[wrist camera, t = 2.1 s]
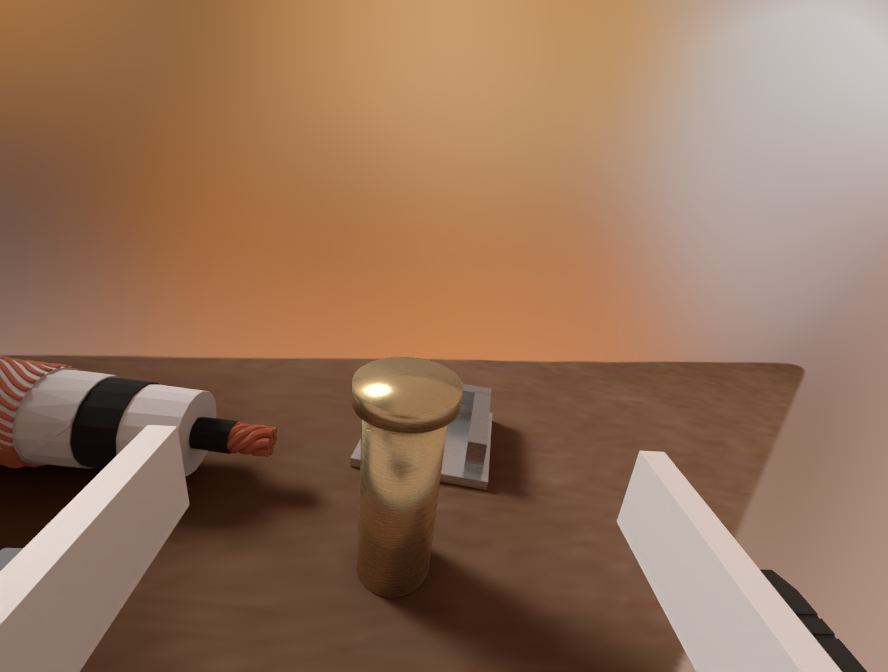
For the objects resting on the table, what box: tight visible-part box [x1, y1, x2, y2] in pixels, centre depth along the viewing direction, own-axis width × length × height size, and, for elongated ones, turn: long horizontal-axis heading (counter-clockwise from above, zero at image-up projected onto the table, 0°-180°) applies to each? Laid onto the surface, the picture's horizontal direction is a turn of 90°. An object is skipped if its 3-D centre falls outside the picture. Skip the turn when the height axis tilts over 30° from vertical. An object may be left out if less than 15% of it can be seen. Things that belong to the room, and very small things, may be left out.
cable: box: [0, 356, 277, 476], centre depth 30 cm, size 10×34×10 cm
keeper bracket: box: [350, 384, 492, 490], centre depth 39 cm, size 11×10×4 cm
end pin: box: [352, 357, 463, 598], centre depth 25 cm, size 6×6×13 cm
